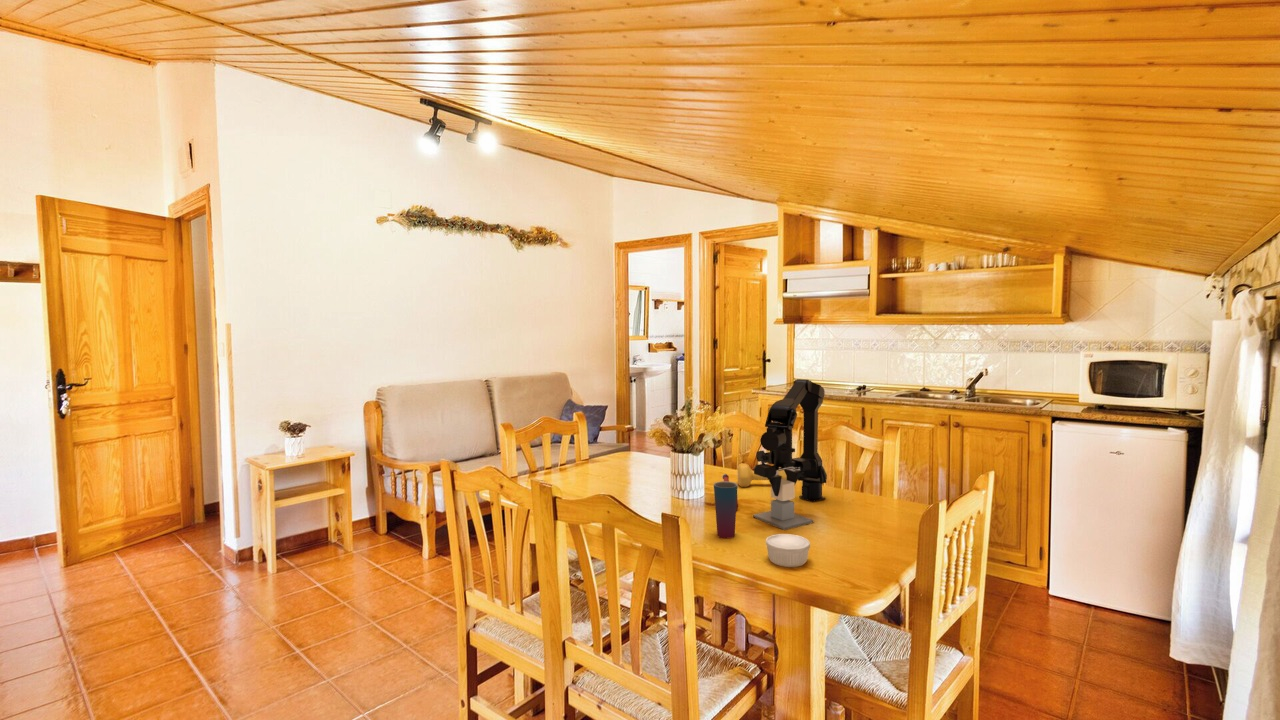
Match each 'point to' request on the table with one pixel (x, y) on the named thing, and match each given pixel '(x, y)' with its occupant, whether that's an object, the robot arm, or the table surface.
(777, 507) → the slate block
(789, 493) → the cream block
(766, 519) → the baseplate
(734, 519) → the cup
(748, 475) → the dumbbell
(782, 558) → the ramekin
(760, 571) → the table surface
